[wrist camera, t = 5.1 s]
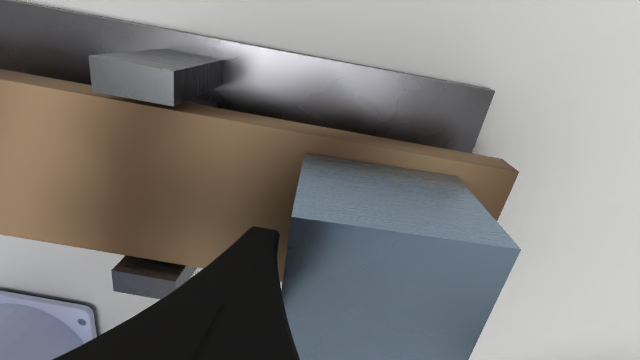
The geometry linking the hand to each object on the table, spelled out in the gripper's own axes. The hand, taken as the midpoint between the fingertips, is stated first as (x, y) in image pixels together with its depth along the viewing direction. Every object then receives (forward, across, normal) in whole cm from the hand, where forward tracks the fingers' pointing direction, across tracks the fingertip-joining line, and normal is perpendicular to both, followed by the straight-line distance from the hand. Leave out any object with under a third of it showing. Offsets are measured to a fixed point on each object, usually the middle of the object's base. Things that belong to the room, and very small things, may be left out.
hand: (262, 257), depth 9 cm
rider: (+3, -3, 0) cm, 4 cm away
